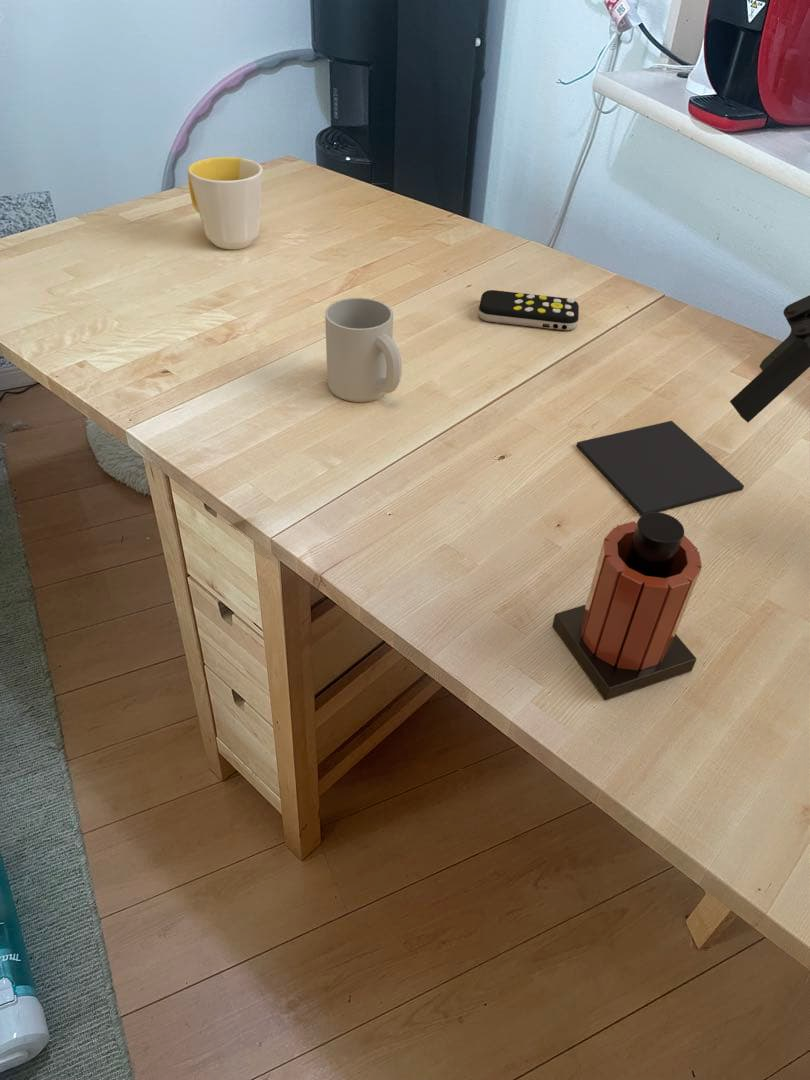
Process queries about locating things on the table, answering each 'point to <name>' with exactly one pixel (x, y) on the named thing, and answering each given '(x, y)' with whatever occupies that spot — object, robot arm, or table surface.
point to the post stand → (650, 558)
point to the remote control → (529, 310)
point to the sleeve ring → (636, 604)
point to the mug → (227, 199)
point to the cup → (361, 350)
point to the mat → (658, 467)
